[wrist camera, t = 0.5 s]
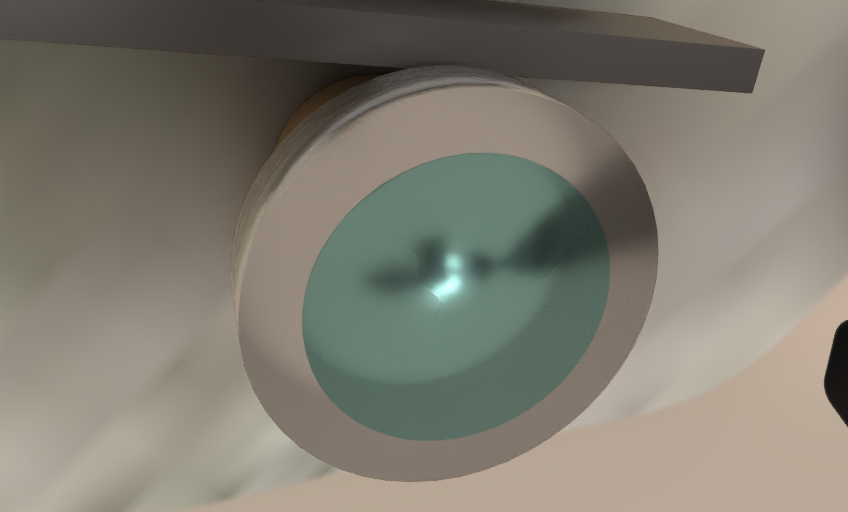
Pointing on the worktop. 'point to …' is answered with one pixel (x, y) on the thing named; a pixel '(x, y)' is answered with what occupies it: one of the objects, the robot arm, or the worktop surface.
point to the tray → (404, 36)
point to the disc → (439, 273)
